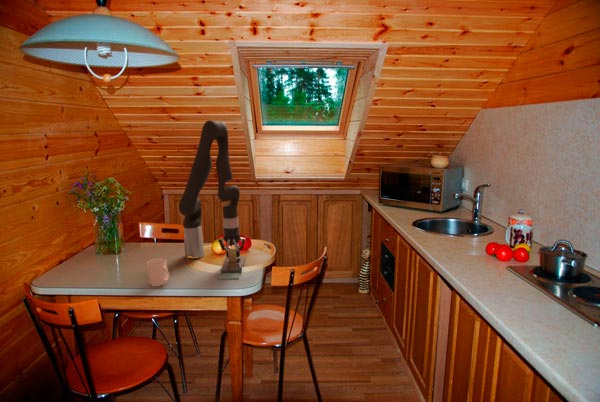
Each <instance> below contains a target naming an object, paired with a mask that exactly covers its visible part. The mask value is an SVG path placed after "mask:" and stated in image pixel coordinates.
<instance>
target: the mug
mask: <svg viewBox="0 0 600 402" xmlns="http://www.w3.org/2000/svg"><path fill="white" fill-rule="evenodd" d="M146 266H147V275H148V281H149V285H150V284H151V285H154V286H159V285H163V286H165V285H167V284H168V283H169V281H170V273H169V270H168V263H167V259H166V258H162V257H159V258H157V257H156V258H152V259H150V260H148V261H147V262H146ZM166 283H167V284H166ZM164 284H165V285H164ZM151 285H150V286H151ZM154 286H153V287H154ZM159 287H160V286H159Z"/></svg>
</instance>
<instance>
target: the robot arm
mask: <svg viewBox="0 0 600 402" xmlns="http://www.w3.org/2000/svg"><path fill="white" fill-rule="evenodd" d="M228 131H229V130H228V127H227V125H226V124H225V122H223V121H219V120H207V121H205V122H204V124H203V126H202V128H201V132H200V136H199V137H200V138H199V143H198V147H197V150H196V154H195V157H194V160H193V163H192V166H191V169H190V173H189V175H188V179H187V183H186V186H185V188H184V191H183V193H182V195H181V198H180V200H179V203H178V210H179V213H181V215H182V216H184V219H183V221H182V226H183V228H182V229H183V235H184V240H183V246H184V256H185V259H188V256H192V257H201V256H203V257H204V256H205V249H204V239H203V229H202V219H203V215H202V203H201V200H200V198H199V194H200V192H201V190H202V189H203V187H204V186H205V184H206V183H207V181H208V179H209V177H210V173H211V171H212V167H213V162H212V157H211V149H212V146H213V142H214V141H216V144H217V148H218V151H217V156H216V160H215V169H216V173H217V180H218V182H217V183H218V184H217V197H218V199H219V201H221V202H228V201H229V202H228V203H227V204H225V205H223V207H222V216H223V217H222V218H223V220H222V224H223V225H222V226H223V237H220V238H219V239H218V243H219V245H220V248H221V250H222V251H225V254H226V257H228V258H229V256H228V249H229V247H230V246H235V247H236V250H237V251H236V252H237V258H238V257H241V253H240V252H241V251H243V249H244V246H245V242H246V237H241V235H240V223H239V216H238V214H239V213H238V205H239V200H240V196H241V192H240V188H239V186H237V185H228V186H226V183H227V182H230V181H232V180H233V177H234V175H233V170H232V167H231V161H230V153H229V133H228ZM224 242H225V243H226V246H225V243H224ZM239 242H241V245H239ZM201 258H202V257H201Z"/></svg>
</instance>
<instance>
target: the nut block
mask: <svg viewBox="0 0 600 402" xmlns="http://www.w3.org/2000/svg"><path fill="white" fill-rule="evenodd" d="M236 251H237V250H236V247H235V245H230V247H229V249H228V256H229V263H239V262H238V258H237V252H236Z"/></svg>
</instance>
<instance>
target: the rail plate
mask: <svg viewBox="0 0 600 402" xmlns="http://www.w3.org/2000/svg"><path fill="white" fill-rule="evenodd" d="M245 260H246V261H247V259H246V256H245V255H244V256H241V255H240V256H239V257H238V261H239V262H238V263H229V258H228V257H227V256H226V257H225V259H224V261H223V263H222V266H221V268H220V275H221V274H222V273H240V274H242V273H243V270H242V267H243V265H244V266H245V264H244V262H245V263H246V261H245ZM243 268H244V267H243Z"/></svg>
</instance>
